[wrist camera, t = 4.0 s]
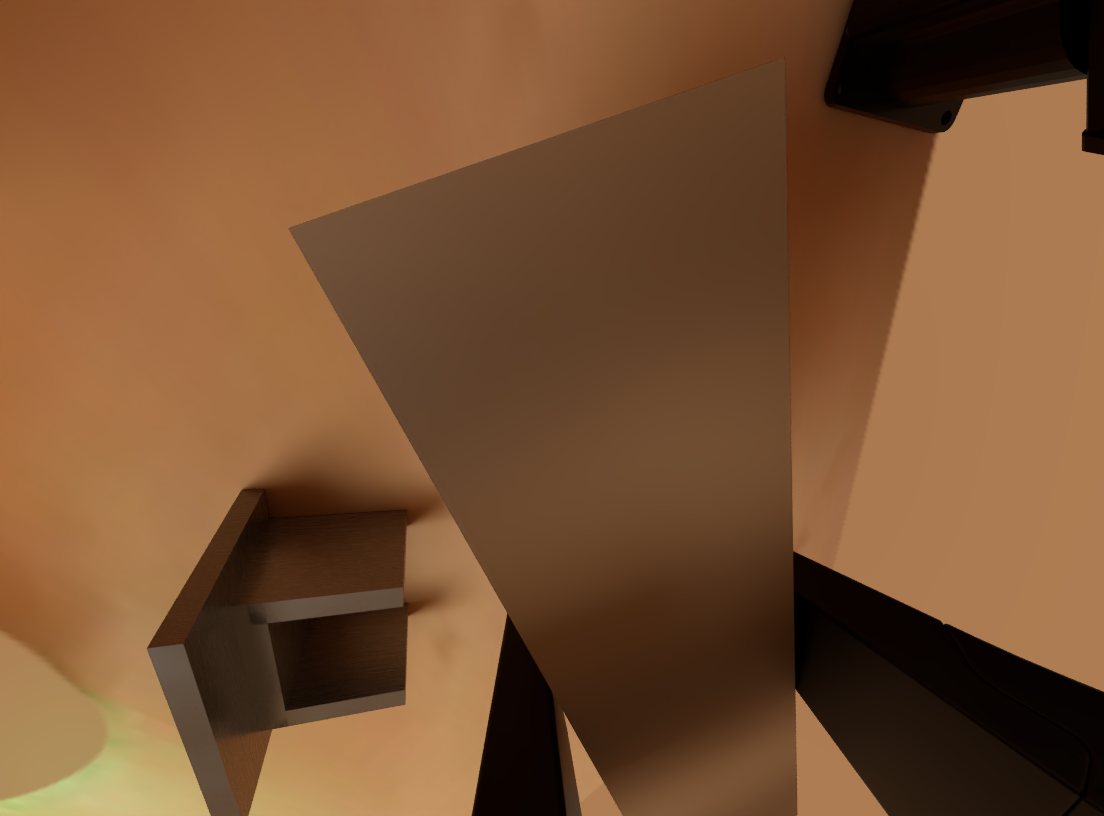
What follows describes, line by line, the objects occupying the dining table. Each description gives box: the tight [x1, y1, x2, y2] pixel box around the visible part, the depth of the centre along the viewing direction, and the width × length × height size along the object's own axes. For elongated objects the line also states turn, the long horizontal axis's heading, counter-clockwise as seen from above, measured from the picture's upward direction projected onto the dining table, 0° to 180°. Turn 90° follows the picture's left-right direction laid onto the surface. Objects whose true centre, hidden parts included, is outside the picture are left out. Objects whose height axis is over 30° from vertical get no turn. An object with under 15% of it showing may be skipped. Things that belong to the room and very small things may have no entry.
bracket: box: [147, 489, 408, 816], centre depth 17 cm, size 6×10×7 cm, turn 173°
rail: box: [288, 57, 797, 816], centre depth 8 cm, size 15×4×4 cm, turn 17°
